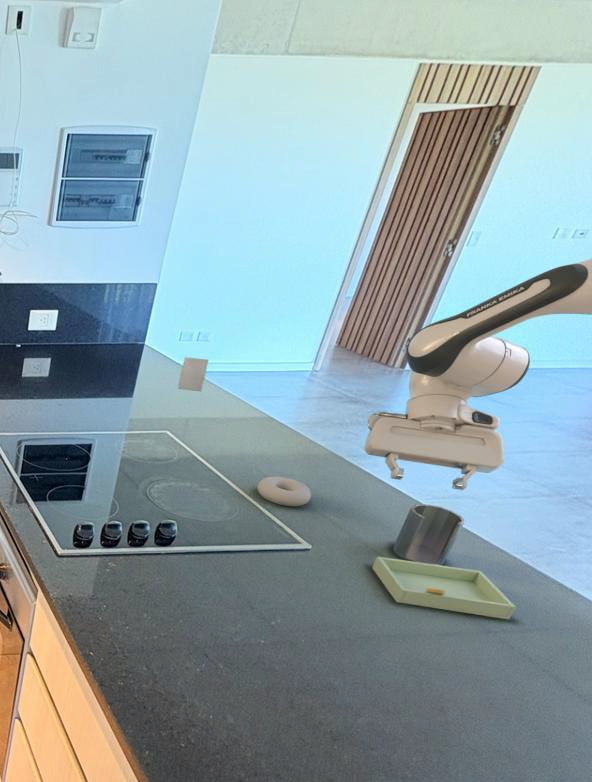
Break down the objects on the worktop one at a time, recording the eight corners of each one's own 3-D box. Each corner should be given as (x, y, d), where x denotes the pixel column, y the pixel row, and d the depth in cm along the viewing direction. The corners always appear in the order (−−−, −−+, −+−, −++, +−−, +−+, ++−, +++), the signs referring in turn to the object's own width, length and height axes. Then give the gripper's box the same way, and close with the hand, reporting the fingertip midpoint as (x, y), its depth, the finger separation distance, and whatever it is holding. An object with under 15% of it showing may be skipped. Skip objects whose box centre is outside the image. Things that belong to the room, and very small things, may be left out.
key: (424, 588, 100) (424, 591, 100) (443, 590, 98) (442, 593, 98) (431, 591, 103) (431, 594, 103) (449, 593, 102) (448, 596, 101)
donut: (315, 499, 134) (266, 482, 140) (320, 485, 132) (270, 469, 139) (298, 514, 128) (247, 496, 135) (303, 500, 126) (252, 482, 133)
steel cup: (389, 541, 118) (407, 501, 114) (436, 551, 115) (456, 509, 111) (397, 560, 113) (417, 518, 108) (447, 571, 110) (469, 528, 106)
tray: (474, 582, 107) (480, 570, 105) (509, 619, 98) (516, 607, 97) (371, 567, 111) (377, 556, 109) (396, 602, 102) (402, 589, 101)
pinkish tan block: (201, 391, 198) (208, 361, 193) (178, 388, 200) (185, 358, 196) (200, 388, 201) (208, 358, 196) (178, 385, 203) (184, 356, 199)
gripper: (375, 403, 122) (367, 466, 118) (511, 420, 113) (506, 488, 110) (363, 416, 127) (355, 477, 124) (492, 434, 119) (486, 500, 115)
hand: (427, 483), depth 117 cm, fingers open, 8 cm apart
